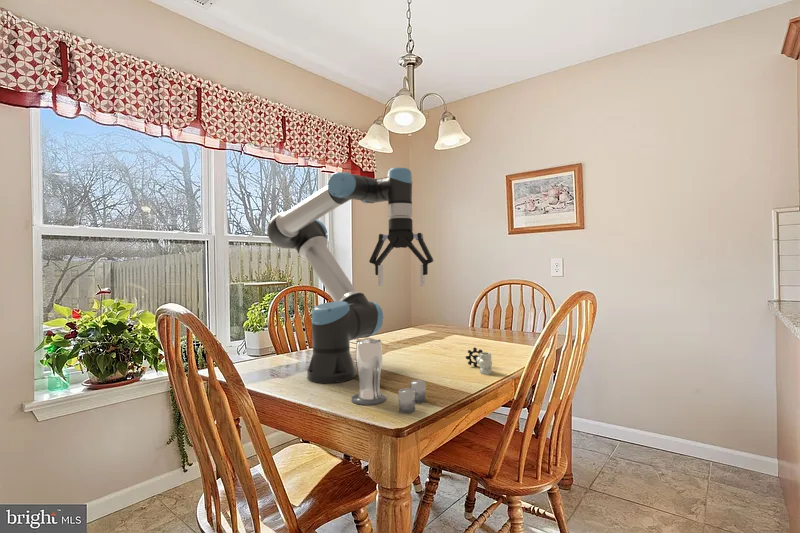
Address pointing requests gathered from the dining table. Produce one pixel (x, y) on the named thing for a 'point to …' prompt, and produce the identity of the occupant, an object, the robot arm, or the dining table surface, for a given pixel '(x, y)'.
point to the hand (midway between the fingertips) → (401, 285)
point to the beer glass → (369, 368)
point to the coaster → (362, 402)
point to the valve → (481, 361)
